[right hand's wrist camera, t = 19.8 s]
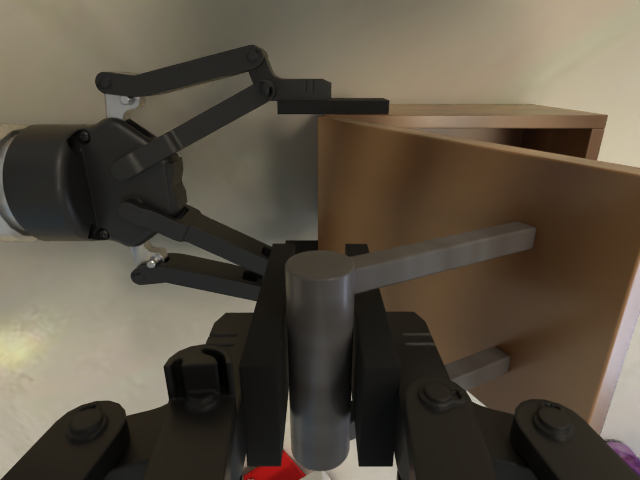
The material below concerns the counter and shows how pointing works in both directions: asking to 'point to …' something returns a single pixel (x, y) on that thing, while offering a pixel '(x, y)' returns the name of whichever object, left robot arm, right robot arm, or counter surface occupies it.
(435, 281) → the door
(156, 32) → the counter surface
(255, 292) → the left robot arm
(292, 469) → the toy
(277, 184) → the counter surface
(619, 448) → the figurine
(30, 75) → the counter surface
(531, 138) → the chest
